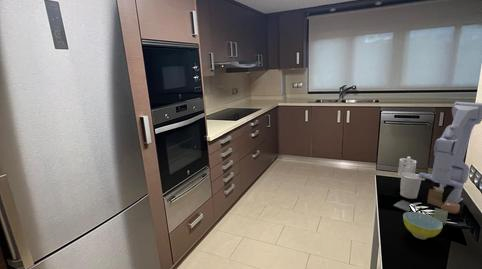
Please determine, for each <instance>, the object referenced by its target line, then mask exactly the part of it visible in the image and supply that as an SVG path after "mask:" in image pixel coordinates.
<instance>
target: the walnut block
mask: <svg viewBox="0 0 482 269" xmlns="http://www.w3.org/2000/svg"><path fill="white" fill-rule="evenodd" d="M443 194H444V189H441V188H440V187H439V186H438V187H436V186H433V187H432V188H431V189H429V194H428V197H427V201H426V202H427V204H431V205H433V206H435V207H438V208H441V206H442V205H444V204H445V203H443V202H442V199H443Z"/></svg>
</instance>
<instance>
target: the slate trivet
mask: <svg viewBox="0 0 482 269" xmlns="http://www.w3.org/2000/svg"><path fill="white" fill-rule="evenodd" d="M410 204H413V202H412V203H411V202H409V201H407V200H404V199H401V200H400V201H398V202H396V203H395V204H393V207H395V208H398V209H400V210H403V211H405V212H409V211H410V207H409V205H410Z"/></svg>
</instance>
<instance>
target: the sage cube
mask: <svg viewBox="0 0 482 269" xmlns="http://www.w3.org/2000/svg"><path fill="white" fill-rule="evenodd" d="M448 214H449V213H448V211H445V210H442V209H441V208H439V207H438V208H437V207H435V208H434V211H433V216H432V217H434V218H436V219H437V220H439V221H440V222H442V223H445V224H446V225H447V221H448V220H447V219H448ZM445 224H444V225H445Z"/></svg>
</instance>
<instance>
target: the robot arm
mask: <svg viewBox="0 0 482 269" xmlns="http://www.w3.org/2000/svg"><path fill="white" fill-rule="evenodd" d="M451 114H452V119H453V121H452V123H451V124H450V125H448V126H446V127H445V129H444V131H443V132H442V135H441V136H440V138H437V139H436V140H435V142H434V146H433V151H434V152H433V156H434V162H433V167H432V173H426V172H420V173H418V175H419V178H422V179H424V180H423V185H424V187H425V190H426V193H427V194H426V195H427V198H428V194H429V189H431V188H432V187H435V186H434V185H435V183H438V184H439V188H441V189H444V194H443V199H442V202H443V203H445V202H446V200H448V201H453V202H456V203H458V204H459V203H461V202H462V201H463V200H464V198H462V197H461V196H462V190H463V189H464V184H466V183H467V181H468V178H469V173H470V166H468V164H466V162H464V159H465V156H466V152H467V149H468V145H469V142H470V139H471V135H472V132H473V130H474V127H475V126H476V125H479V124H481V122H482V102H466V101H465V102H464V101H455V102H453V104H452V108H451Z"/></svg>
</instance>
